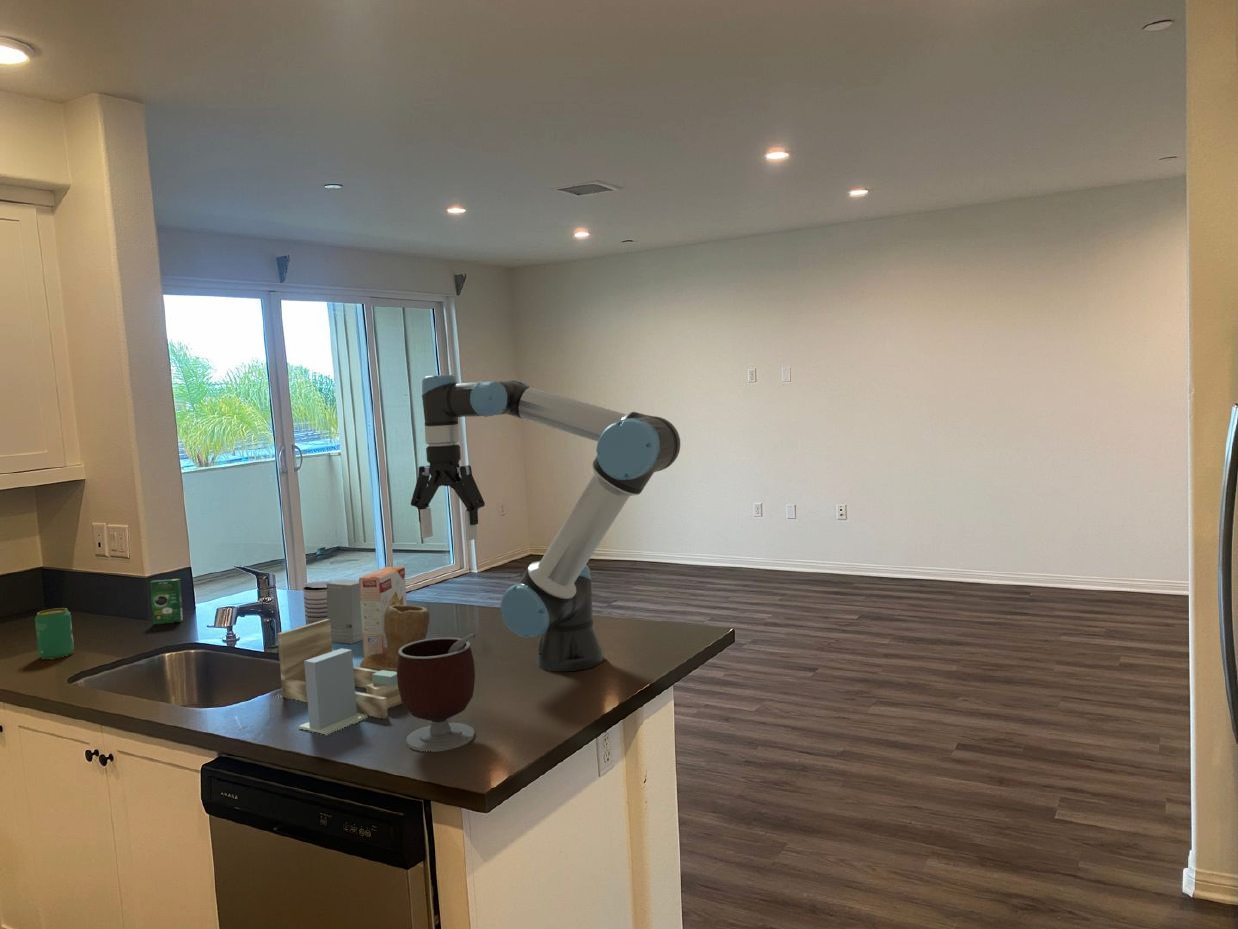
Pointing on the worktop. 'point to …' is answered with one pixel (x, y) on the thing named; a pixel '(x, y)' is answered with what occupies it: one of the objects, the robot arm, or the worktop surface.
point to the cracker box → (379, 605)
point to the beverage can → (54, 633)
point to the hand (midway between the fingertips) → (449, 538)
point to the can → (315, 601)
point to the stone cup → (399, 635)
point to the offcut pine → (382, 690)
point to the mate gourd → (437, 690)
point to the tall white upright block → (330, 688)
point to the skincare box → (344, 611)
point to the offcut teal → (385, 678)
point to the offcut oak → (393, 701)
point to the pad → (335, 724)
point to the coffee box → (166, 601)
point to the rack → (312, 644)
